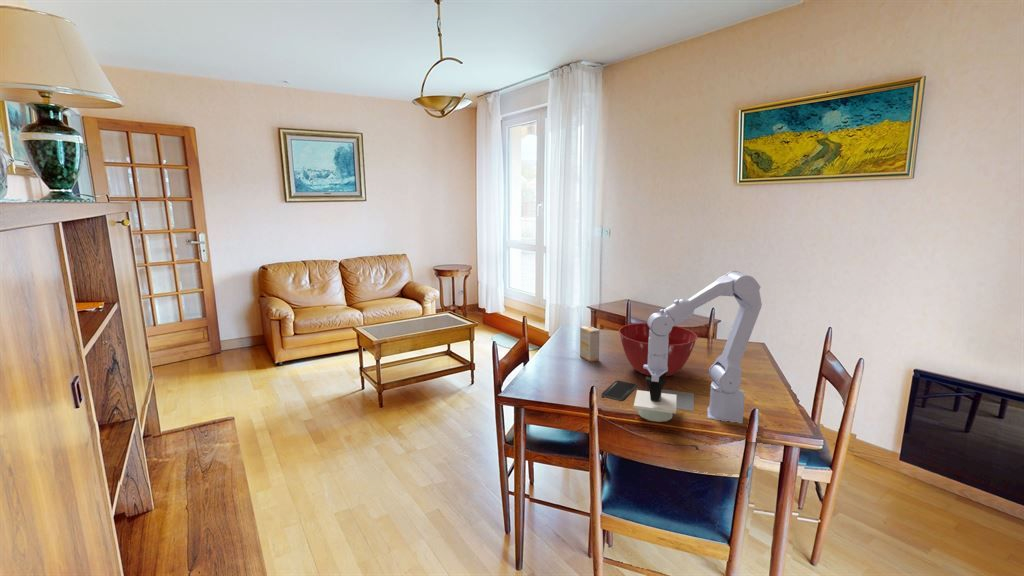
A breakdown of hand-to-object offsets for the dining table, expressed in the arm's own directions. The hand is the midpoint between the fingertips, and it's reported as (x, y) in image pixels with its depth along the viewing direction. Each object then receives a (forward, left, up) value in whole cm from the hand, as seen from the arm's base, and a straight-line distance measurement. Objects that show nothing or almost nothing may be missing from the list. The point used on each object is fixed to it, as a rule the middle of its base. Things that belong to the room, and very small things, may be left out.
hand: (656, 395), depth 143 cm
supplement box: (+30, -44, -6) cm, 54 cm away
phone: (+13, -14, -7) cm, 20 cm away
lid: (0, 0, -2) cm, 2 cm away
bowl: (0, 0, -6) cm, 6 cm away
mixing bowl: (+3, -38, -6) cm, 39 cm away
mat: (-4, -13, -6) cm, 15 cm away
